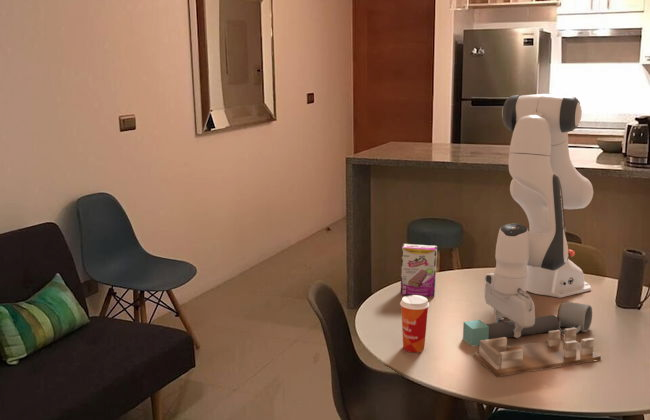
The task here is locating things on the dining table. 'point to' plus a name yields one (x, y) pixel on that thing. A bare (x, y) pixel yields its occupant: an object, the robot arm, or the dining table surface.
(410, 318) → the paper cup
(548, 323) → the grey and teal rod
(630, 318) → the dining table surface
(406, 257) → the candy bar box
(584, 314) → the ceramic mug
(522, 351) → the wooden cradle
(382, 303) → the dining table surface
